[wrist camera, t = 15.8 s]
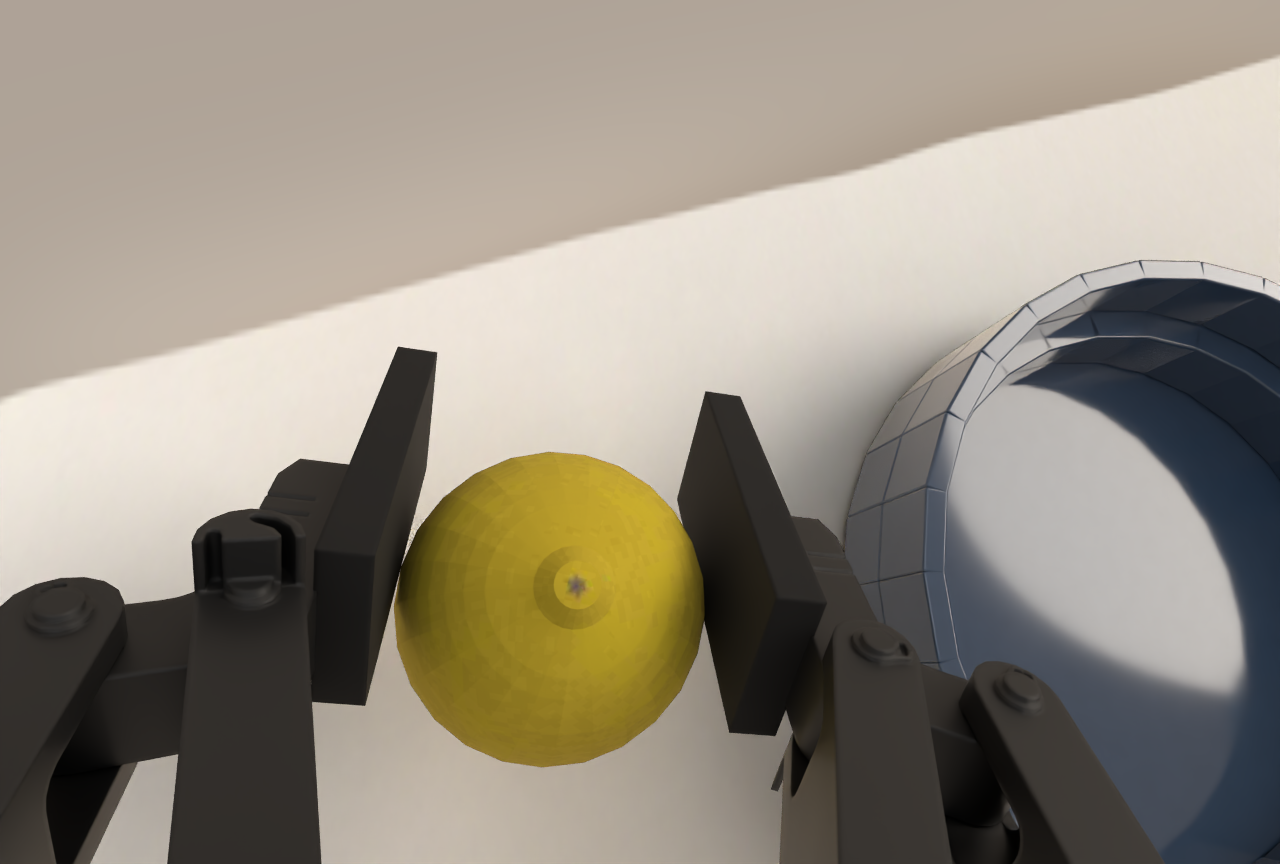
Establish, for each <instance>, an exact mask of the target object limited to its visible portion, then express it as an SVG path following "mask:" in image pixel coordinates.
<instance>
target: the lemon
mask: <svg viewBox="0 0 1280 864" xmlns="http://www.w3.org/2000/svg"><path fill="white" fill-rule="evenodd" d="M394 614H395V627H396V639H397V648H398V651H399V654H400V656H401V659H402V662H403V665H404V668H405V670H406V673H407V676H408V679H409V681H410V684H411V686H412V688H413V689H414V691H415V692H416V693H417V695H418V696H419V698H420V699H421V701H422V702H423V704H424V705H425V706H426V708H427V709H428V711H429V712H430V714H431V715H432V717H433V718H434V719H435V720H436V721H437V722H438V723H440V724H441V725H442V726H443V727H444V728H446V729H447V730H448V731H449V732H450V733H452V734H453V735H454V736H455V737H456V738H458V739H459V740H460V741H461V742H462V743H464V744H465V745H467V746H469V747H471V748H473V749H476V750H478V751H480V752H482V753H485V754H487V755H489V756H491V757H494V758H496V759H498V760H500V761H503V762H510V763H517V764H523V765H530V766H537V767H550V766H558V765H567V764H575V763H583V762H586V761H589V760H591V759H594V758H596V757H598V756H601V755H603V754H606V753H608V752H611V751H613V750H616V749H618V748H620V747H622V746H624V745H625V744H626V743H628V742H629V741H630V740H632V739H633V738H634V737H636V736H637V735H638V734H640V733H641V732H642V731H644V730H645V729H646V728H648V727H649V726H650V725H652V724H653V723H654V722H655V721H656V720H657V719H658V718H659V717H660V715H661V714H662V713H663V712H664V711H665V709H666V708H667V707H668V706H669V704H670V703H671V702H672V701H673V699H674V698H675V697H676V696H677V694H678V693H679V692H680V691H681V689H682V687H683V684H684V682H685V680H686V678H687V676H688V673H689V671H690V669H691V667H692V665H693V662H694V660H695V658H696V656H697V653H698V649H699V644H700V638H701V633H702V628H703V623H704V617H705V608H704V587H703V576H702V573H701V570H700V566H699V563H698V560H697V556H696V553H695V550H694V546H693V543H692V541H691V539H690V538H689V536H688V534H687V532H686V531H685V529H684V527H683V526H682V524H681V522H680V520H679V519H678V517H677V515H676V514H675V512H674V511H673V510H672V509H671V508H670V507H669V506H668V504H667V503H666V502H665V501H664V500H663V499H662V498H661V497H660V496H659V495H658V494H657V493H656V492H655V491H654V490H653V489H652V488H651V487H650V486H649V485H648V484H646V483H644V482H643V481H641V480H640V479H638V478H637V477H635V476H633V475H632V474H630V473H629V472H627V471H626V470H624V469H622V468H621V467H619V466H616V465H613V464H610V463H607V462H604V461H601V460H598V459H595V458H592V457H589V456H586V455H578V454H566V453H554V452H546V453H540V454H534V455H528V456H521V457H515V458H510V459H508V460H505V461H503V462H501V463H498V464H496V465H494V466H492V467H489V468H487V469H485V470H482V471H480V472H478V473H476V474H474V475H473V476H471V477H470V478H469V479H467V480H466V481H465V482H463V483H462V484H461V485H459V486H458V487H457V488H455V489H454V490H453V491H451V492H450V493H449V494H448V495H446V496H445V497H444V498H443V499H442V500H441V501H440V502H439V504H438V505H437V506H436V507H435V509H434V510H433V511H432V512H431V514H430V515H429V516H428V517H427V519H426V520H425V521H424V522H423V524H422V525H421V526H420V527H419V529H418V530H417V532H416V535H415V537H414V539H413V541H412V543H411V546H410V548H409V550H408V552H407V555H406V557H405V559H404V561H403V564H402V566H401V570H400V575H399V581H398V586H397V592H396V598H395V603H394Z"/></svg>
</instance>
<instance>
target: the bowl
mask: <svg viewBox="0 0 1280 864" xmlns="http://www.w3.org/2000/svg"><path fill="white" fill-rule="evenodd" d="M866 454H867V455H866V456H865V460H864V463H863V466H862V470H861V473H860V476H859V480H858V483H857V486H856V490H855V493H854V496H853V500H852V503H851V506H850V510H849V513H848V517H849V518H847V524H846V539H845V555H846V557H845V559H846V560H848V561H849V564H850V566H851V568H852V570H853V575H855V576H856V578H857V580H858V582H859V584H860V586H861V588H862V590H863V592H864V594H865V596H866V598H867V600H868V603H869V605H870V607H871V609H872V611H873V613H874V615H875V617H876V619H877V621H878V622H880V623H882V624H885V625H887V626H890V627H891V628H893V629H894V630H896V631H897V632H899V633H900V634H901V635H903V636H904V637H905V638H906V639H907V640H908V641H909V642H910V643H911V645H912V646H913V647H914V648H915V650H916V653H917V655H918V657H919V660H920V663H921V664H923V665H926V666H928V667H931V668H933V669H936V670H939V671H942V672H945V673H948V674H951V675H954V676H957V677H960V678H963V679H966V680H969V679H970V677H971V675H972V673H973V671H974V669H975V667H976V666H978V665H980V664H982V663H983V662H985V661H1001V662H1005V663H1009V664H1013V665H1016V666H1018V667H1021V668H1023V669H1024V670H1027V671H1029V672H1031V673H1033V674H1034V675H1035V676H1037V677H1038V678H1039V679H1041V680H1042V681H1043V682H1045V683H1046V684H1047V685H1048V686H1049V687H1050V688H1051V689H1052V690H1053V691H1054V693H1055V694H1056V695H1057V696H1058V697H1059V699H1060V700H1061V702H1062V703H1063V705H1064V706H1065V708H1066V709H1067V711H1068V713H1069V714H1070V716H1071V717H1072V719H1073V720H1074V722H1075V724H1076V725H1077V727H1078V728H1079V730H1080V731H1081V733H1082V734H1083V736H1084V738H1085V739H1086V741H1087V742H1088V744H1089V745H1090V747H1091V749H1092V750H1093V752H1094V753H1095V755H1096V756H1097V758H1098V759H1099V761H1100V763H1101V764H1102V766H1103V767H1104V769H1105V770H1106V772H1107V774H1108V775H1109V777H1110V778H1111V780H1112V781H1113V783H1114V784H1115V786H1116V788H1117V789H1118V791H1119V792H1120V794H1121V795H1122V797H1123V798H1124V800H1125V802H1126V803H1127V805H1128V806H1129V808H1130V809H1131V811H1132V813H1133V814H1134V816H1135V817H1136V819H1137V820H1138V822H1139V823H1140V825H1141V827H1142V828H1143V830H1144V831H1145V833H1146V834H1147V836H1148V838H1149V839H1150V841H1151V842H1152V844H1153V845H1154V847H1155V848H1156V850H1157V852H1158V853H1159V855H1160V856H1161V858H1162V859H1163V861H1164V863H1165V864H1280V285H1278V284H1276V283H1274V282H1272V281H1270V280H1268V279H1266V278H1263V277H1260V276H1256V275H1252V274H1248V273H1244V272H1241V271H1237V270H1233V269H1229V268H1225V267H1221V266H1217V265H1213V264H1209V263H1205V262H1199V261H1158V260H1139V261H1133V262H1129V263H1124V264H1120V265H1116V266H1112V267H1108V268H1103V269H1099V270H1095V271H1091V272H1087V273H1082V274H1079V275H1076V276H1074V277H1073V278H1071V279H1069V280H1067V281H1065V282H1064V283H1062V284H1060V285H1058V286H1056V287H1055V288H1053V289H1051V290H1049V291H1048V292H1046V293H1044V294H1042V295H1040V296H1039V297H1037V298H1035V299H1033V300H1031V301H1030V302H1028V303H1026V304H1025V305H1023V306H1021V307H1020V308H1018V309H1017V310H1015V311H1014V312H1012V313H1011V314H1009V315H1008V316H1006V317H1005V318H1003V319H1002V320H1000V321H998V322H997V323H995V324H994V325H992V326H991V327H989V328H988V329H986V330H985V331H983V332H982V333H980V334H979V335H977V336H976V337H974V338H972V339H971V340H969V341H968V342H966V343H965V344H963V345H962V346H960V347H959V348H957V349H956V350H954V351H953V352H951V353H949V354H948V355H946V356H945V357H943V358H942V359H940V360H939V361H938V362H936V363H935V364H934V365H933V366H932V367H931V368H930V369H929V370H928V371H927V372H926V373H925V374H924V375H923V376H922V377H921V378H920V379H919V380H918V381H917V382H916V383H915V384H914V385H913V386H912V387H911V388H910V389H909V390H908V391H907V392H906V393H905V394H904V395H903V396H902V397H901V398H900V399H899V400H898V402H897V403H895V405H894V407H893V409H892V410H891V412H890V414H889V415H888V417H887V419H886V420H885V422H884V424H883V426H882V427H881V429H880V431H879V432H878V434H877V436H876V437H875V439H874V441H873V443H872V444H871V446H870V448H869V449H868V451H867V453H866ZM1009 811H1010V813H1011V815H1012V817H1013V819H1014V821H1015V823H1016V824H1017V826H1018V823H1017V820H1016V817H1015V815H1014V813H1013V811H1012V809H1011V808H1010V809H1009ZM1018 827H1019V826H1018Z"/></svg>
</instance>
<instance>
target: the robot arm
mask: <svg viewBox="0 0 1280 864" xmlns="http://www.w3.org/2000/svg"><path fill="white" fill-rule="evenodd" d="M436 361H437V352H431V351H424V350H417V349H410V348H403V347H398V348H397V350H396V353H395V355H394V358H393V360H392V363H391V365H390V367H389V370H388V372H387V375H386V377H385V379H384V382H383V384H382V387H381V389H380V391H379V394H378V396H377V399H376V401H375V404H374V406H373V408H372V411H371V413H370V416H369V418H368V420H367V423H366V425H365V428H364V430H363V433H362V435H361V437H360V440H359V442H358V445H357V447H356V449H355V452H354V454H353V457H352V459H351V462H350V464H349V465H348V464H339V463H331V462H323V461H315V460H306V459H299V460H298V461H296V462H295V463H293V464H292V465H290V466H289V467H287V468H286V469H284V470H283V471H281V472H280V473H278V475H277V477H276V478H275V480H274V482H273V484H272V486H271V488H270V489H269V491H268V495H267V496H266V497H265V499H264V500H263V502H262V504H261V506H260V509H245V510H238V511H231V512H228V513H225V514H222V515H220V516H217V517H215V518H212V519H210V520H209V521H208V522H206V523H205V524H204V525H202V526H201V527H200V528H198V529H197V531H196V533H195V535H194V538H193V540H192V557H193V573H194V589H195V592H193V593H190V594H187V595H184V596H181V597H177V598H171V599H166V600H160V601H151V602H143V603H134V604H126V605H124V601H123V598H122V596H121V594H120V592H119V590H118V589H116V588H115V587H113V586H112V585H110V584H108V583H107V582H105V581H101V580H96V579H91V578H86V577H77V578H59V579H55V580H51V581H47V582H43V583H39V584H35V585H33V586H31V587H29V588H27V589H25V590H23V591H21V592H19V593H17V594H14V595H13V596H12V597H11V598H10V599H8V600H7V601H6V602H5V603H4V604H3V605H2V606H0V864H90V863H91V861H92V859H93V856H94V854H95V852H96V850H97V848H98V846H99V844H100V842H101V839H102V837H103V835H104V833H105V831H106V829H107V827H108V825H109V822H110V820H111V818H112V816H113V814H114V812H115V810H116V808H117V806H118V803H119V801H120V799H121V797H122V795H123V793H124V791H125V789H126V786H127V784H128V782H129V780H130V778H131V776H132V774H133V772H134V769H135V767H136V765H137V763H138V762H140V761H145V760H150V759H155V758H161V757H166V756H171V755H176V754H178V763H177V773H176V783H175V793H174V803H173V813H172V823H171V833H170V842H169V852H168V862H167V864H321V849H320V832H319V815H318V798H317V780H316V763H315V746H314V729H313V712H312V702H321V703H335V704H349V705H362V706H365V705H366V701H367V697H368V693H369V689H370V685H371V681H372V678H373V674H374V670H375V666H376V662H377V658H378V654H379V650H380V646H381V643H382V639H383V635H384V631H385V627H386V623H387V619H388V615H389V612H390V608H391V604H392V600H393V596H394V592H395V588H396V584H397V581H398V577H399V573H400V569H401V565H402V561H403V557H404V553H405V550H406V546H407V542H408V538H409V534H410V530H411V526H412V522H413V519H414V515H415V511H416V507H417V503H418V499H419V495H420V491H421V487H422V484H423V480H424V476H425V472H426V467H427V456H428V446H429V435H430V424H431V414H432V403H433V393H434V382H435V371H436ZM677 501H678V505H679V510H680V514H681V519H682V523H683V527H684V529H685V531H686V532H687V534H688V536H689V538H690V539H691V541H692V543H693V546H694V550H695V553H696V556H697V560H698V563H699V566H700V570H701V573H702V576H703V587H704V608H705V617H704V622H705V626H706V631H707V635H708V640H709V644H710V649H711V653H712V657H713V662H714V666H715V671H716V675H717V680H718V684H719V689H720V693H721V698H722V702H723V707H724V711H725V716H726V720H727V725H728V729H729V733H741V734H754V735H768V736H776V733H777V731H778V728H779V726H780V723H781V720H782V718H783V715H784V713H785V710H786V711H787V714H788V718H789V721H790V724H791V727H792V731H793V733H792V736H791V738H790V741H789V743H788V746H787V748H786V751H785V753H784V756H783V758H782V761H781V763H780V766H779V768H778V771H777V773H776V776H775V778H774V781H773V784H772V787H771V790H775V791H778V790H779V787H780V785H781V782H782V780H783V795H782V817H781V839H780V861H779V864H1165V863H1164V861H1163V859H1162V858H1161V856H1160V855H1159V853H1158V852H1157V850H1156V848H1155V847H1154V845H1153V844H1152V842H1151V841H1150V839H1149V838H1148V836H1147V834H1146V833H1145V831H1144V830H1143V828H1142V827H1141V825H1140V823H1139V822H1138V820H1137V819H1136V817H1135V816H1134V814H1133V813H1132V811H1131V809H1130V808H1129V806H1128V805H1127V803H1126V802H1125V800H1124V798H1123V797H1122V795H1121V794H1120V792H1119V791H1118V789H1117V788H1116V786H1115V784H1114V783H1113V781H1112V780H1111V778H1110V777H1109V775H1108V774H1107V772H1106V770H1105V769H1104V767H1103V766H1102V764H1101V763H1100V761H1099V759H1098V758H1097V756H1096V755H1095V753H1094V752H1093V750H1092V749H1091V747H1090V745H1089V744H1088V742H1087V741H1086V739H1085V738H1084V736H1083V734H1082V733H1081V731H1080V730H1079V728H1078V727H1077V725H1076V724H1075V722H1074V720H1073V719H1072V717H1071V716H1070V714H1069V713H1068V711H1067V709H1066V708H1065V706H1064V705H1063V703H1062V702H1061V700H1060V699H1059V697H1058V696H1057V695H1056V694H1055V693H1054V691H1053V690H1052V689H1051V688H1050V687H1049V686H1048V685H1047V684H1046V683H1045V682H1043V681H1042V680H1041V679H1039V678H1038V677H1037V676H1035V675H1034V674H1033V673H1031V672H1029V671H1027V670H1024V669H1023V668H1021V667H1018V666H1016V665H1013V664H1009V663H1005V662H1001V661H985V662H983V663H982V664H980V665H978V666H976V667H975V669H974V671H973V673H972V675H971V677H970V679H969V680H966V679H963V678H960V677H957V676H954V675H951V674H948V673H945V672H942V671H939V670H936V669H933V668H931V667H928V666H926V665H923V664H921V663H920V660H919V657H918V655H917V653H916V650H915V648H914V647H913V646H912V645H911V643H910V642H909V641H908V640H907V639H906V638H905V637H904V636H903V635H901V634H900V633H899V632H897V631H896V630H894V629H893V628H891V627H890V626H887V625H885V624H882V623H880V622H878V621H877V619H876V617H875V615H874V613H873V611H872V609H871V607H870V605H869V603H868V600H867V598H866V596H865V594H864V592H863V590H862V588H861V586H860V584H859V582H858V580H857V578H856V576H855V575H853V570H852V568H851V566H850V564H849V561H848V560H846V559H845V557H846V555H845V553H844V551H843V549H842V547H841V545H840V543H839V541H838V539H837V537H836V536H835V535H834V534H833V533H832V532H831V531H830V530H829V529H828V528H827V527H825V526H824V525H823V524H822V523H821V522H820V521H819V520H818V519H810V518H802V517H794V516H791V515H790V513H789V511H788V508H787V506H786V504H785V501H784V499H783V497H782V494H781V492H780V489H779V487H778V485H777V482H776V480H775V478H774V475H773V473H772V471H771V468H770V466H769V463H768V461H767V459H766V456H765V454H764V452H763V449H762V447H761V445H760V442H759V440H758V437H757V435H756V433H755V430H754V428H753V426H752V423H751V421H750V419H749V416H748V414H747V411H746V409H745V407H744V404H743V402H742V400H741V397H740V396H734V395H727V394H720V393H713V392H706V391H705V395H704V399H703V403H702V407H701V411H700V414H699V418H698V422H697V426H696V430H695V433H694V437H693V441H692V445H691V449H690V452H689V456H688V460H687V464H686V468H685V471H684V475H683V479H682V483H681V487H680V490H679V494H678V498H677ZM1010 808H1011V809H1012V811H1013V813H1014V815H1015V817H1016V820H1017V823H1018V826H1019V827H1018V826H1017V824H1016V823H1015V821H1014V819H1013V817H1012V815H1011V813H1010V811H1009V809H1010Z"/></svg>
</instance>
